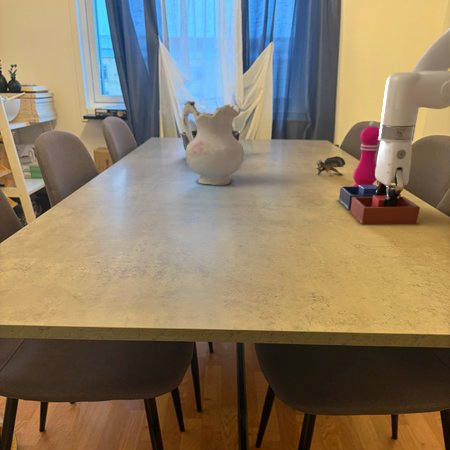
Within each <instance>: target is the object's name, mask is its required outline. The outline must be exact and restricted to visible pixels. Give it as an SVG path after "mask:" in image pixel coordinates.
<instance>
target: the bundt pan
mask: <svg viewBox="0 0 450 450" xmlns="http://www.w3.org/2000/svg"><path fill="white" fill-rule="evenodd" d="M191 131H192V135H193V138H195V137H196V135H197V129H196V130H191ZM232 134H233V136H234V138H235V139H236V140H238V141H239V142H240V136H241V131H238V130H232ZM180 136H181V140H182V144H183V149H184V151H185V152H186V147H187V146H188V144H189V143H190V141H189V139H188V137H187V136H186V133H185V131H182V132H180Z"/></svg>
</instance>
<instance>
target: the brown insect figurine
mask: <svg viewBox="0 0 450 450" xmlns="http://www.w3.org/2000/svg"><path fill="white" fill-rule="evenodd" d="M315 164H316V165H317V167H316V170H317V175H318V176H319V175H321V173H322V172H324V171H325V172H326V173H327V174H328V175H329V177H331V176H332V172H335V173H337V174H339V175H342V176H343V173H341V172H340V171H339V170H338V169H337V168H344V167H345V165H346V164H347V163H346V160H345V159H344V158H343V157H341V156H337V155H335V156H331V157H327V158H326V159H325V160H324V162H323V161H322V160H321V159H317V161H316V163H315Z"/></svg>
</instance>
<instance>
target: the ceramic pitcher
mask: <svg viewBox="0 0 450 450" xmlns="http://www.w3.org/2000/svg"><path fill="white" fill-rule="evenodd" d="M183 104H184V106H183V109H182V117H181V118H182V119H181V120H182V127H183V131H184V132H185V133H186V136H187V137H188V139H189V141H190V143H189V144H188V146H187V147H186V151H185V160H186V163H187V166H189V168H190V170H191V171H192V172H193V173H194V174H196V175H197V176H199V179H198V180H197V182H198V183H199V184H202V185H203V184H204V185H213V186H227V185H229V184H230V183H231V182H232V177H231V175H233V174H235V173H237V172H238V171H239V169H240V168H241V166H242V164H243V162H244V154H245V150H244V146H243V144H242V143H241V141H240V140H239V141H238V140H236V139H235V138H234V136H233V134H232V126H233V123H234V119H235V118H237V117H238V116H239V115H240V114H241V108H240V106H239V104H235V106H234V105H232V106H231V104H225V105H223V106H220V107H217V108H215V111H214V112H213V113H212V112H211V113H210V112H200V111H198V110H197V107H196V106H195V105H196V101H193V100H192V101H190V100H188V101H187V100H186V101H185V103H183ZM190 114H192V117H193V119H194V122H195V126H196V130H197V135H196V137H195V138H193V135H192V131H193V130H192V129H191V127H190V125H189V115H190Z"/></svg>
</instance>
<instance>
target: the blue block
mask: <svg viewBox="0 0 450 450" xmlns="http://www.w3.org/2000/svg"><path fill="white" fill-rule="evenodd" d="M376 187H377V184H374V185H359V190H358V195H376Z"/></svg>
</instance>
